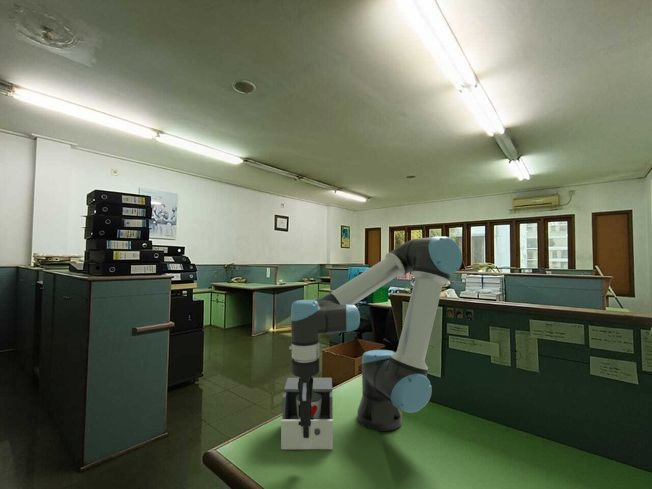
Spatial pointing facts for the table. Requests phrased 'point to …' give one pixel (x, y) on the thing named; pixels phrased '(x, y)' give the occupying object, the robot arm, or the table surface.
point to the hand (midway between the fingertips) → (306, 447)
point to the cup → (315, 405)
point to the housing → (319, 386)
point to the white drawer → (320, 433)
